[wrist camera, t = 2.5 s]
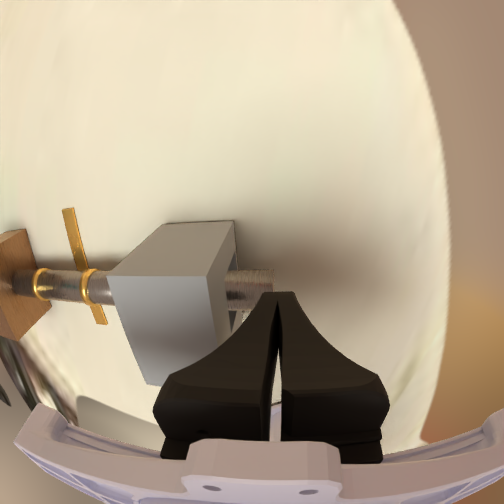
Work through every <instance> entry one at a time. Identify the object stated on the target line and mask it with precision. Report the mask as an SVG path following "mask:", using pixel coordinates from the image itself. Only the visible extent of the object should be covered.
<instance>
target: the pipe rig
mask: <svg viewBox="0 0 504 504" xmlns="http://www.w3.org/2000/svg"><path fill="white" fill-rule="evenodd" d="M62 213H63V218H64V222H65V226H66V230H67V234H68V238H69V242H70V246H71V250H72V253H73V257H74V260H75V263H76V267H77V270H78V271H77V270H50V269H48V268H40V269H37V266H36V263H35V260H34V257H33V253H32V250H31V247H30V243H29V240H28V236H27V232H26V229H20V230H13V231H7V232H4V233H3V234H1V235H0V335H1V336H3V337H6V338H9V339H12V340H15V341H19V340H20V339H21V338H22V336H23V335H24V334H25V333H26V332H27V331H28V330H29V329H30V328H31V327H32V326H33V325H34V324H35V323H36V322H37V321H38V320H39V319H40V318H41V317H42V316H43V315H44V314H45V313H46V312H47V311H48V310H49V309H50V308H51V307H52V306H51V304H50V301H49V300H58V301H67V302H77V303H85V304H86V305H89V306H90V308H91V310H92V313H93V316H94V318H95V321H96V323H97V324H103V325H107V324H108V323H107V321H106V318H105V316H104V313H103V310H102V307H101V305H112V306H115V303H114V300H113V297H112V294H111V290H110V287H109V284H108V281H107V277H106V275H107V274H108V273H109V272H110V271H101V270H99V269H89V268H88V265H87V261H86V258H85V254H84V250H83V247H82V243H81V239H80V235H79V231H78V227H77V222H76V218H75V213H74V208H68V209H63V210H62ZM224 281H225V289H226V297H227V305H228V310H238V311H252V310H253V309H254V307H255V305H256V304H257V302H258V300H259V299H260V297H261V295H262V293H264V292H274V271H273V270H228V271H227V274H226V276H225V279H224Z"/></svg>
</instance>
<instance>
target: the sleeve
mask: <svg viewBox="0 0 504 504" xmlns="http://www.w3.org/2000/svg"><path fill="white" fill-rule="evenodd" d="M228 270H238V265H237V254H236V244H235V233H234V222H233V221H219V222H198V223H180V224H163V225H161V226H160V227H159V228H158V229H156V230H155V231H154V232H153V233H152V234H151V235H150V236H148V237H147V238H146V239H145V240H144V241H143V242H142V243H141V244H140V245H138V246H137V247H136V248H135V249H134V250H133V251H132V252H131V253H130V254H129V255H127V256H126V257H125V258H124V259H123V260H122V261H121V262H120V263H119V264H118V265H117V266H116V267H115V268H114V269H113V270H112V271H110V272H109V273H108V274H107V275H106V277H107V281H108V284H109V287H110V290H111V294H112V297H113V300H114V303H115V306H116V309H117V312H118V314H119V317H120V320H121V323H122V326H123V328H124V331H125V334H126V336H127V339H128V341H129V344H130V346H131V349H132V351H133V354H134V356H135V359H136V361H137V363H138V366H139V368H140V370H141V373H142V375H143V377H144V379H145V381H146V384H148V385H155V386H163V384H164V382H165V381H166V379H167V377H168V376H169V374H171V373H174V372H176V371H178V370H181V369H183V368H185V367H187V366H189V365H191V364H193V363H195V362H197V361H199V360H200V359H202V358H204V357H205V356H207V355H208V354H210V353H211V352H213V351H214V350H215V349H217V348H218V347H219V346H220V345H222V344H223V343H224V342H225V341H226V340H227V339H228V338H229V337H230V336H231V335H232V334H233V333H234V332H235V331H236V330H237V329H238V328H239V327H240V326H241V322H242V317H243V315H242V311H238V310H228V305H227V297H226V289H225V281H224V279H225V276H226V274H227V271H228Z"/></svg>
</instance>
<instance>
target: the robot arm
mask: <svg viewBox="0 0 504 504" xmlns="http://www.w3.org/2000/svg"><path fill="white" fill-rule="evenodd" d="M278 348H279V359H280V370H281V381H282V393H281V403H280V404H277V405H274V406H271V402H272V390H273V383H274V376H275V369H276V362H277V355H278ZM389 407H390V403H389V399H388V395H387V392H386V390H385V388H384V386H383V384H382V382H381V380H380V378H379V376H378V375H377V374H375V373H373V372H371V371H369V370H367V369H365V368H363V367H361V366H360V365H358V364H356V363H355V362H353V361H351V360H350V359H348V358H347V357H345V356H344V355H343V354H342V353H340V352H339V351H338V350H336V349H335V348H334V347H333V346H332V345H331V344H330V343H329V342H328V341H327V340H326V339H325V338H324V337H323V336H322V335H321V334H320V333H319V332H318V331H317V329H316V328H315V327H314V326H313V324H312V323H311V322H310V320H309V319H308V317H307V316H306V314H305V313H304V311H303V310H302V308H301V306H300V304H299V302H298V300H297V298H296V296H295V293H294V292H264V293H262V295H261V297H260V299H259V300H258V302H257V304H256V305H255V307H254V309H253V310H252V311H251V313H250V314H249V316H248V317H247V318H246V320H245V321H244V322H243V323H242V324H241V326H240V327H239V328H238V329H237V330H236V331H235V332H234V333H233V334H232V335H231V336H230V337H229V338H228V339H227V340H226V341H225V342H224V343H223V344H222V345H220V346H219V347H218V348H217V349H215V350H214V351H213V352H211V353H210V354H208V355H207V356H205V357H204V358H202V359H200V360H199V361H197V362H195V363H193V364H191V365H189V366H187V367H185V368H183V369H181V370H178V371H176V372H174V373H171V374H169V376H168V377H167V379H166V381H165V382H164V384H163V386H162V388H161V390H160V392H159V394H158V397H157V399H156V401H155V404H154V406H153V414H154V417H155V419H156V421H157V423H158V424H159V426H160V428H161V430H162V431H163V433H164V435H165V436H166V438H165V441H164V444H163V447H162V450H161V452H160V451H156V450H151V449H147V448H143V447H139V446H135V445H131V444H128V443H124V442H121V441H117V440H114V439H111V438H107V437H104V436H101V435H98V434H95V433H93V432H90V431H87V430H84V429H82V428H79V427H76V426H74V425H71V424H69V423H68V422H67V420H66V419H65V418H64V416H63V415H62V414H61V413H59V412H58V411H57V410H55V409H53V408H50V407H48V406H46V405H44V404H41V403H38V404H37V405H36V407H35V408H34V410H33V411H32V413H31V414H30V416H29V417H28V419H27V421H26V422H25V424H24V425H23V427H22V428H21V430H20V432H19V433H18V435H17V436H16V438H15V440H14V444H15V445H16V446H17V447H18V448H19V449H20V450H21V451H22V452H23V453H25V454H26V455H27V456H28V457H29V458H30V459H31V460H32V461H33V462H35V463H36V464H37V465H38V466H39V467H40V468H42V469H43V470H44V471H45V472H47V473H48V474H50V475H52V476H54V477H56V478H57V479H59V480H61V481H63V482H65V483H66V484H68V485H70V486H72V487H74V488H76V489H78V490H79V491H81V492H84V493H85V494H87V495H90V496H92V497H94V498H96V499H98V500H100V501H102V502H104V503H107V504H452V503H454V502H456V501H458V500H460V499H462V498H464V497H467V496H469V495H471V494H473V493H474V492H477V491H479V490H481V489H482V488H484V487H486V486H488V485H490V484H492V483H494V482H496V481H497V480H499V479H500V478H501V477H503V476H504V408H503V409H501V410H499V411H497V412H495V413H493V414H492V415H491V416H489V417H488V418H487V419H486V421H485V422H484V423H483V425H482V427H479V428H477V429H474V430H472V431H469V432H466V433H463V434H461V435H458V436H455V437H452V438H449V439H446V440H443V441H439V442H436V443H432V444H429V445H425V446H421V447H418V448H414V449H409V450H405V451H401V452H396V453H391V454H386V455H383V454H382V449H381V444H380V440H381V439H382V434H381V429H380V427H381V425H382V423H383V421H384V419H385V417H386V415H387V413H388V411H389Z"/></svg>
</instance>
